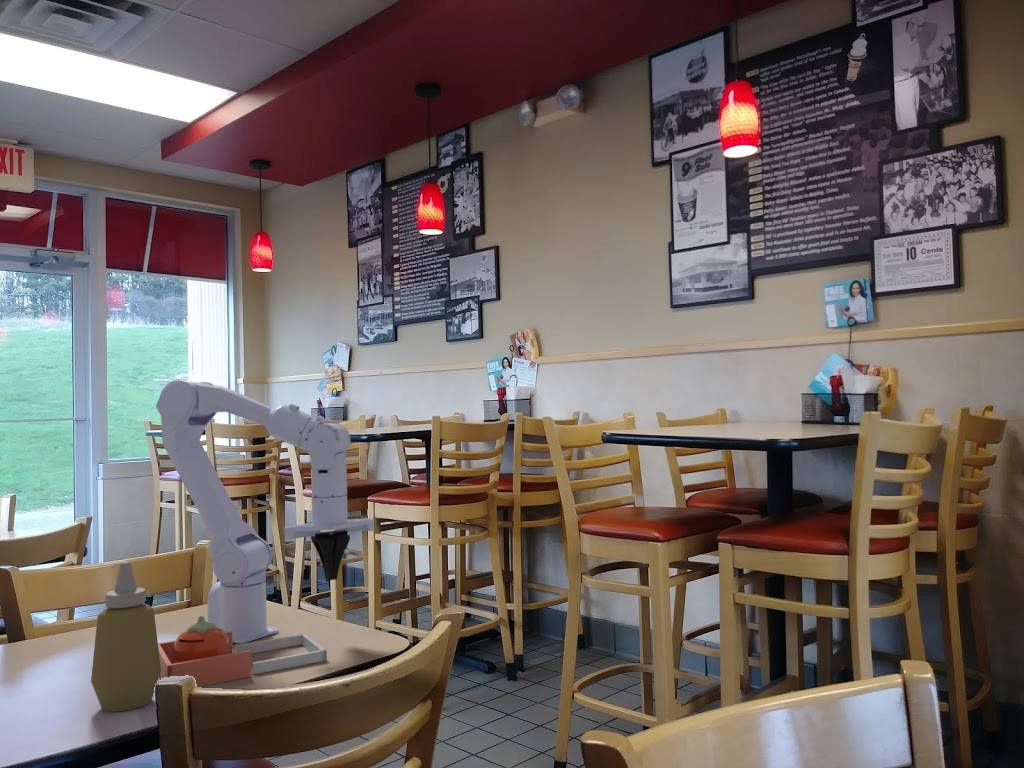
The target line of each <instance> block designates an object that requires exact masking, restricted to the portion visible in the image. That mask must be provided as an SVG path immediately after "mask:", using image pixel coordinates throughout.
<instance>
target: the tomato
mask: <svg viewBox="0 0 1024 768" xmlns="http://www.w3.org/2000/svg"><path fill="white" fill-rule="evenodd" d="M175 640H176V641H175V644H174V655H175V658H176V661H177V663H180V662H186V661H191V660H197V659H203V658H208V657H214V656H220V655H226V654H227V651H228V645H229V640H228V636H227V634H226V632H225V631H223V630H222V629H221V628H218V627H216V625H215V624H212V623H210V622H208V621H206V619H205V617H204V616H203V615H200V616H198V618H197V621H196V622H195V623H192V624H191V625H190V626H189V627H188V628H187V629H186V630H184V631H183V632H181V633H180V634H179V635H178V636H177V637H176V639H175Z"/></svg>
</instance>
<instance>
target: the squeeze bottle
mask: <svg viewBox="0 0 1024 768" xmlns="http://www.w3.org/2000/svg"><path fill="white" fill-rule="evenodd" d="M117 573H118V574H117V578H116V582H115V586H114V590H110V591H108V592H107V593H105V607H107V608H104V609H103V610H102V611H101V612H100V613H99V614H98V615H97V617H96V628H95V635H94V636H95V637H94V639H95V640H94V647H93V658H92V669H91V676H90V678H91V679H90V683H91V686H92V687H93V691H94V693H95V695H96V697H97V700H98V703H99V705H100V708H101V709H102V710H103V711H108V712H123V711H130V710H133V709H138V708H141V707H143V706H146V705H147V704H149V703H151V702H152V700H153V697H154V693H155V691H154V687H155V684H156V683H157V684H158V682H159V681H158V680H159V679H160V677H159V675H160V672H161V665H160V657H159V648H158V643H159V641H158V634H157V633H158V631H157V625H156V617H155V609H154V607H152V606H151V605H149V604H148V603H145V602H146V601H147V590H146V589H145V588H144V587H137V583H136V579H135V575H134V571H133V567H132V563H131V561H126V562H125V561H124V562H120V565H119V568H118V572H117ZM157 681H158V682H157Z"/></svg>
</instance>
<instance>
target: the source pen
mask: <svg viewBox="0 0 1024 768" xmlns="http://www.w3.org/2000/svg"><path fill="white" fill-rule="evenodd" d="M300 645H302V646H303V647H304V648H306V650H308V652H304V653H303V652H302V653H298V654H297V653H296V654H292V655H287V656H286V655H285V656H282V657H277V658H276V657H275V658H272V659H265V660H260V661H259V660H258V661H254V662H251V674H252V675H257V674H263V673H268V672H274V671H279V670H284V669H289V668H294V667H301V666H305V665H310V664H315V663H321V662H325V661H327V659H328V656H327V655H328V654H327V649H325V648H324V647H323V646H322V645H320V644H319V643H318V642H317V641H315V640H313V639H312V638H311V637H310V636H309V635H307V634H305V633H299V634H293V635H288V636H281V637H276V638H275V637H274V638H271V639H264V640H259V641H258V640H257V641H250V642H246V643H243V644H239V643H238V644H235V653H237V652H243V651H248V650H250V651H251V654H255V653H262V652H267V651H272V650H278V649H279V650H280V649H285V648H288V647H289V648H290V647H297V646H300Z"/></svg>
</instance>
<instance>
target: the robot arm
mask: <svg viewBox="0 0 1024 768" xmlns="http://www.w3.org/2000/svg"><path fill="white" fill-rule="evenodd" d="M155 407H156V409H157V411H158V413H159V414H160V422H161V423H160V424H161V440H162V444H163V448H164V449H165V451H166V453H167V455H168V457H169V459H170V460H171V462H172V465H173V466H174V468H175V470H176V472H177V474H178V475H179V478H180V479H181V481H182V484H183V485H184V487H185V489H186V491H187V493H188V495H189V497H190V498H191V501H192V502H193V504H194V506H195V508H196V509H197V511H198V514H199V515H200V517H201V519H202V521H203V524H205V527H206V529H207V530H208V532H209V534H210V540H209V544H208V547H207V550H208V552H209V554H210V556H211V560H212V561H211V563H212V571H213V573H214V575H215V578H217V580H218V581H217V582H216V583H214V584H213V585H212V587H211V588H210V590H209V592H208V595H207V601H206V602H207V622H210V623H212V624H215V625H216V627H218V628H221V629H222V630H223V631H225V632H230V631H231V632H232V643H233V644H234V643H236V644H238V645H239V644H245V643H250V642H253V641H254V640H258V639H261V638H263V637H267V636H270V635H273V634H277V633H278V632H279V629H278V628H274V627H268V622H267V621H268V618H267V616H268V615H267V609H268V608H267V606H268V605H267V575H266V571H267V570H268V569H269V567H270V565H271V564H272V561H273V551H272V548H271V546H270V544H269V543H268V542H267V541H266V540H265V539H263V538H261V536H259V535H258V533H257V531H256V530H255V528H254V527H253V526H251V525H250V524H248V522H245V521H244V520H243V519H242V517H241V515H240V514H239V512H238V509H237V508H236V506H235V504H234V502H233V501H232V499H231V496H230V495H229V493H228V492H227V489H226V488H225V486H224V484H223V482H222V480H221V478H220V475H219V474H218V473H217V471H216V469H215V466H214V465H213V464H212V461H211V460H210V458H209V455H208V453H207V451H205V448H204V447H203V445H202V443H201V438H202V436H203V433H204V431H205V429H206V427H207V426H208V425H209V423H211V421H212V420H213V419H214V417H215V416H216V415H217V414H218V413H228V414H232V415H234V416H237V417H239V418H242V419H245V420H248V421H251V422H253V423H256V424H259V425H261V426H265V428H266V429H267V431H268V434H269V436H270V437H272V438H274V439H276V440H279V441H282V442H284V443H286V444H289V445H292V446H294V447H296V448H299V449H302V450H303V451H306V452H307V454H308V455H310V456H309V457H310V458H311V459H310V464H311V465H310V468H311V470H310V472H311V475H310V476H311V478H310V479H311V481H310V482H311V483H310V484H311V486H310V487H311V522H307V523H301V524H294V525H286V526H284V528H283V529H284V539H286V540H294V539H300V538H301V539H302V538H310V540H311V543H312V544H313V546H314V548H315V550H316V552H317V554H318V557H319V559H320V562H321V565H322V569H323V574H324V579H326V580H327V581H335V580H338V576H339V575H338V574H339V571H340V565H341V562H342V558H343V556H344V553H345V551H346V549H347V547H348V544H349V543H350V540H351V538H350V537H351V536H350V534H349V533H357V532H365V531H366V532H372V531H373V532H374V531H375V526H374V525H375V523H374V522H375V521H374V518H370V517H367V518H366V517H364V518H353V519H352V518H351V519H350V518H349V517H348V478H347V476H348V475H347V474H348V473H347V472H348V471H347V470H348V468H347V451H348V450H349V448H350V446H351V434H350V433H349V430H348V429H347V428H346V427H345V426H344V425H342V424H341V423H339V422H338V421H332V422H327V423H326V421H325V417H324V416H322V415H317V416H315V415H311V414H309V413H306V412H304V411H301V410H300V406H299V405H297V404H293V403H290V404H289V405H286V404H282V405H280V406H278V407H276V408H274V407H272V406H270V405H267V404H265V403H262V402H260V401H258V400H256V399H254V398H251V397H249V396H247V395H244V394H243V393H240V392H237V391H236V390H234V389H232V388H229V387H225V386H222V385H215V384H213V383H211V382H207V381H202V382H196V381H193V382H192V381H184V380H179V379H178V380H173V381H170V382H168V383H167V384H165V386H164V387H163V388H162V390H161V392H160V395H159V397H158V399H157V402H156V404H155ZM348 518H349V519H348Z"/></svg>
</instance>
